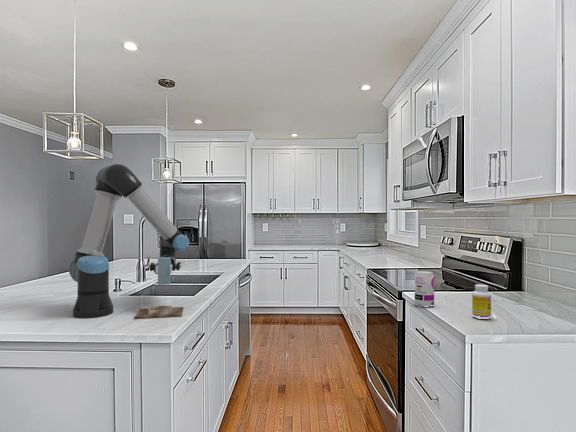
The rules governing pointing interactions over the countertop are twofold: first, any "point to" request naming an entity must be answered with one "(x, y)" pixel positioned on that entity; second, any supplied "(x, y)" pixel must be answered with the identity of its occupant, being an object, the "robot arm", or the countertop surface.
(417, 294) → the supplement can
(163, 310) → the board
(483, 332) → the countertop surface
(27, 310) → the countertop surface
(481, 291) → the supplement bottle
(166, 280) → the blue-grey tall block
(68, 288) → the countertop surface
